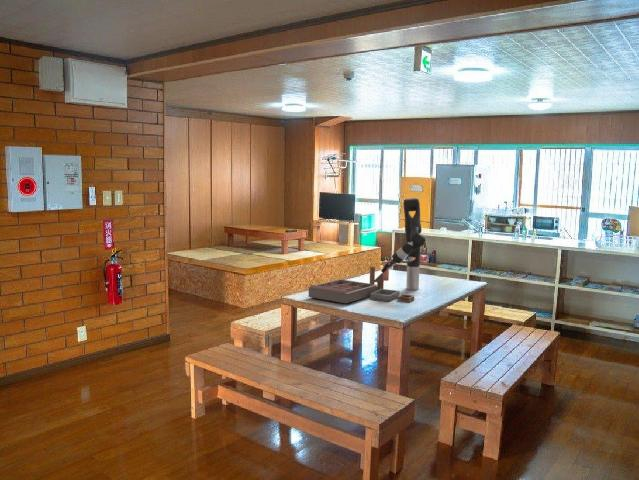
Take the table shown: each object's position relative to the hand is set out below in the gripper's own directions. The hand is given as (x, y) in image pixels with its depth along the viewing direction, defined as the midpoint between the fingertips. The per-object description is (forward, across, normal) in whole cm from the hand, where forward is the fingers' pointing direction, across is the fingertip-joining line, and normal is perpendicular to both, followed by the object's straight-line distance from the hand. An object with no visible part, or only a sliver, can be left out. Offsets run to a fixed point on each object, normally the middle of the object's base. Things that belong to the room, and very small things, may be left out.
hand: (383, 271), depth 366 cm
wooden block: (+22, -18, +5) cm, 29 cm away
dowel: (+3, 0, +6) cm, 6 cm away
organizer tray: (+30, +13, -4) cm, 33 cm away
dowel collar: (+1, 0, +25) cm, 25 cm away
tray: (+12, 0, +14) cm, 19 cm away
